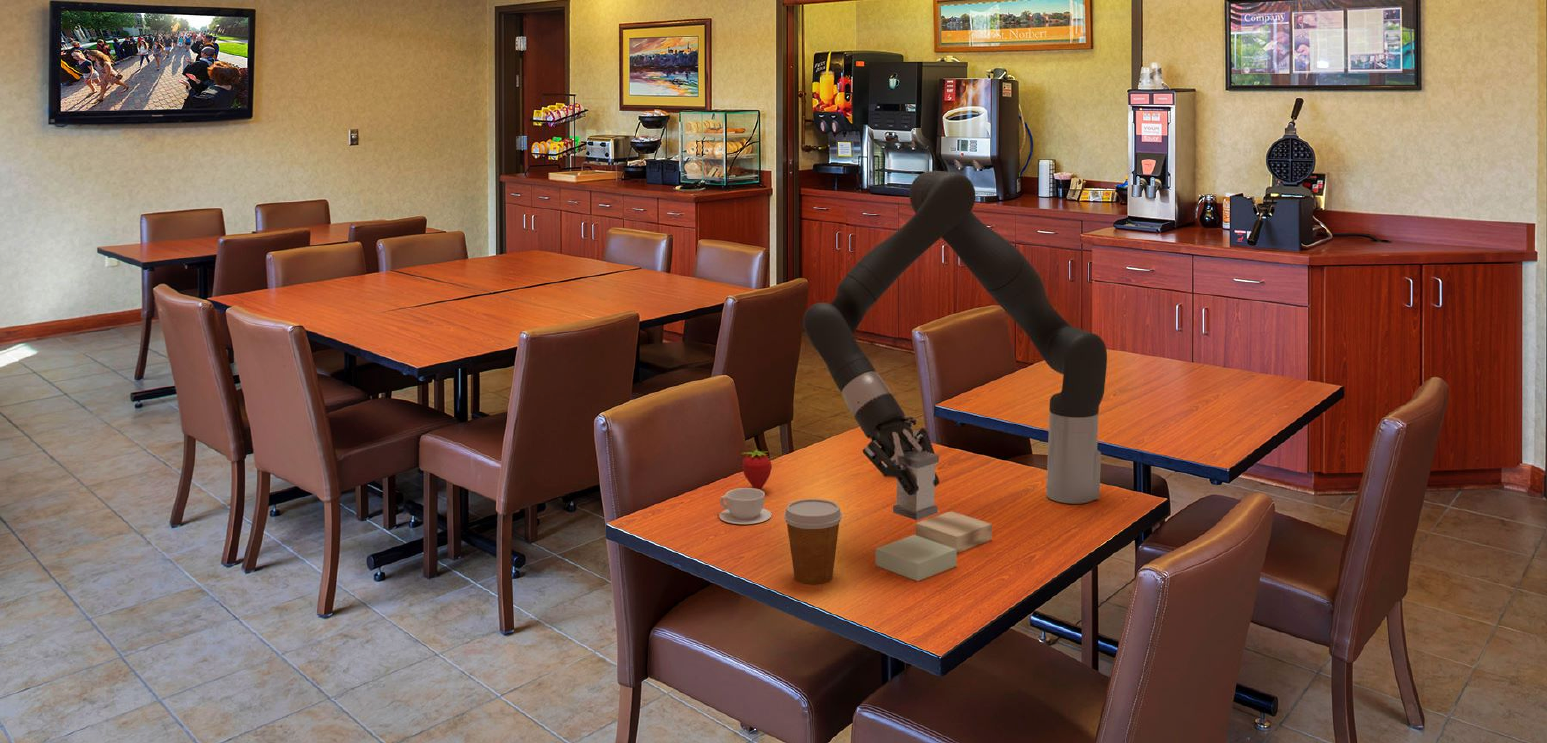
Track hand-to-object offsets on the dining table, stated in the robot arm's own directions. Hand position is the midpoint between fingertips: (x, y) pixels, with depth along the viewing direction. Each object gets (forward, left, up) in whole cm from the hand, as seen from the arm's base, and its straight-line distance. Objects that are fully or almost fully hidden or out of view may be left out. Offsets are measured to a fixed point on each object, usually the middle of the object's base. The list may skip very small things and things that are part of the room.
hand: (924, 489), depth 196 cm
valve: (-11, -51, -14) cm, 54 cm away
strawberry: (+20, -47, -14) cm, 53 cm away
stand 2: (-9, -12, -14) cm, 20 cm away
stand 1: (+1, -2, -14) cm, 14 cm away
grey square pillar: (+1, -2, -5) cm, 5 cm away
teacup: (+25, -33, -14) cm, 43 cm away
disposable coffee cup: (+19, -1, -14) cm, 23 cm away
